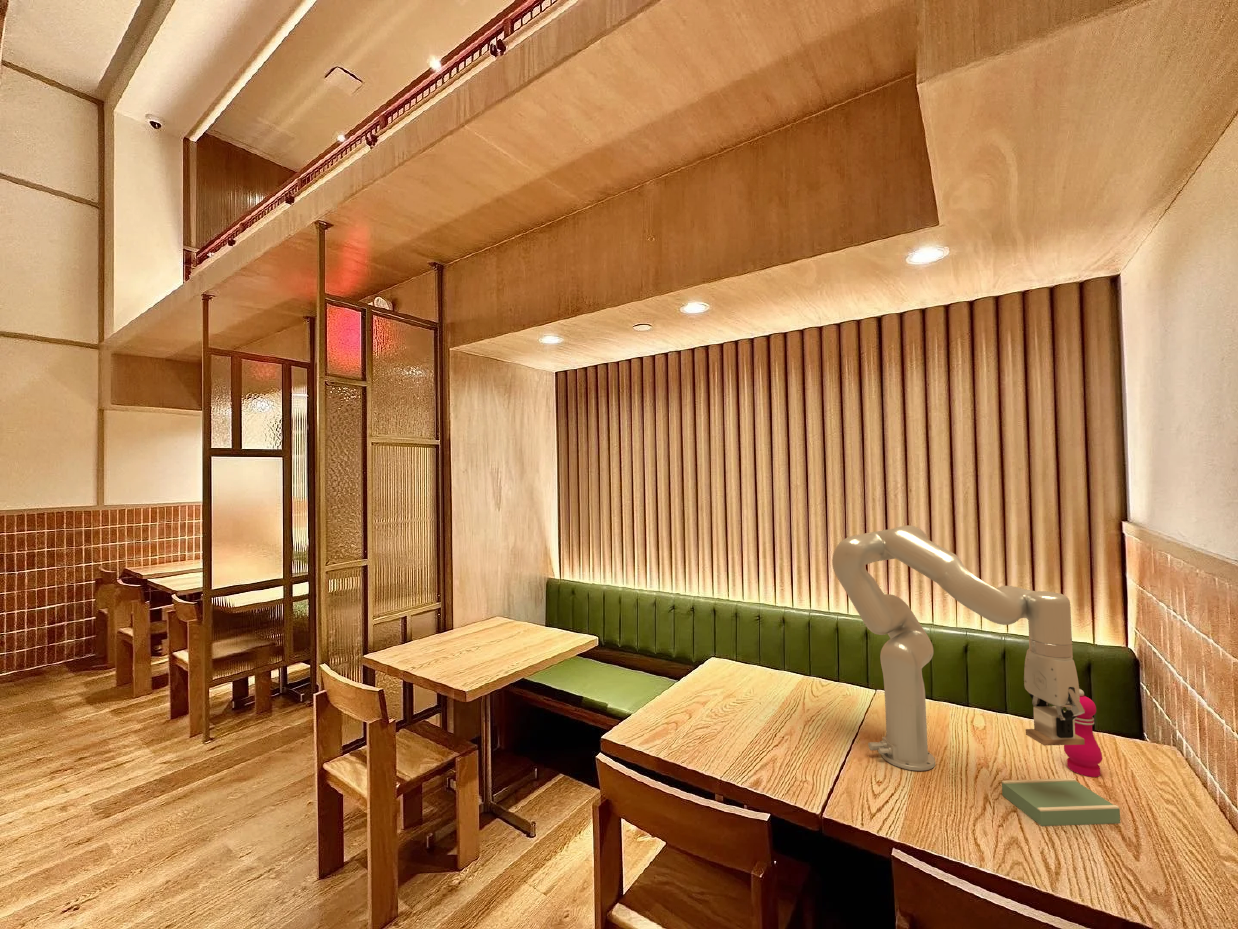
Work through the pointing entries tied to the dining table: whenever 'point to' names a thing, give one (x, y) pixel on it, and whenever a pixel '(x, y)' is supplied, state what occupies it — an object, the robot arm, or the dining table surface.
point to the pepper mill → (1087, 755)
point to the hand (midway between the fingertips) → (1053, 730)
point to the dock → (1059, 802)
